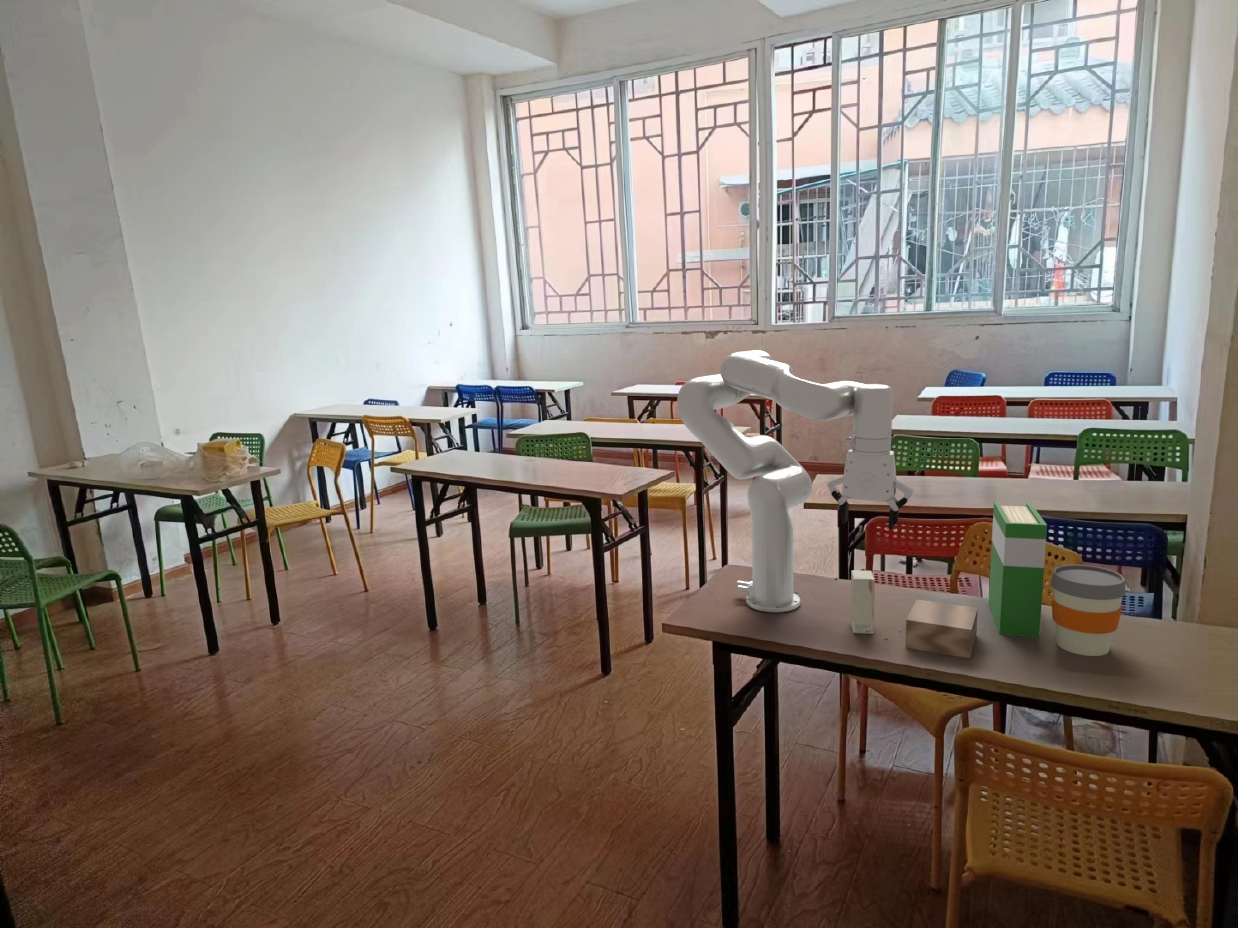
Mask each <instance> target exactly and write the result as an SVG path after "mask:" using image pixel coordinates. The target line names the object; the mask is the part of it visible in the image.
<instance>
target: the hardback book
mask: <svg viewBox="0 0 1238 928" xmlns="http://www.w3.org/2000/svg"><path fill="white" fill-rule="evenodd" d="M992 517H993V519H992V531H991V551H990V570H989V584H988V585H989V588H988V602H989V603H988V606H989V609H990V612H991V614H992V617H993V620H994V622H995V626H996V628H997V632H998V634H999V635H1007V636H1018V637H1031V638H1040V633H1041V617H1042V616H1041V615H1042V605H1043V603H1042V602H1043V590H1044V589H1043V588H1044V576H1045V575H1044V574H1045V561H1046V560H1045V559H1046V549H1047V548H1046V547H1047V546H1046V545H1047V531H1048V524H1047V523H1046V521H1045V520H1044V519H1043V518H1042V516H1041V515H1040V513H1039V512H1038V511H1037V509H1036V508H1035V507H1034V505H1033V503H1032V502H1026V503H1025V506H1023V505H1022V506H1021V505H1019V506H1017V505H1015V506H1014V505H1001V503H1000V502H999V501H994V502H993V515H992Z"/></svg>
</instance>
